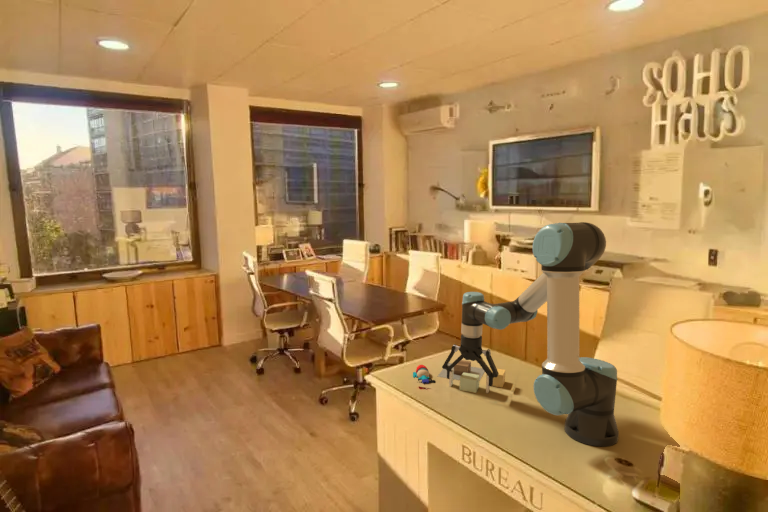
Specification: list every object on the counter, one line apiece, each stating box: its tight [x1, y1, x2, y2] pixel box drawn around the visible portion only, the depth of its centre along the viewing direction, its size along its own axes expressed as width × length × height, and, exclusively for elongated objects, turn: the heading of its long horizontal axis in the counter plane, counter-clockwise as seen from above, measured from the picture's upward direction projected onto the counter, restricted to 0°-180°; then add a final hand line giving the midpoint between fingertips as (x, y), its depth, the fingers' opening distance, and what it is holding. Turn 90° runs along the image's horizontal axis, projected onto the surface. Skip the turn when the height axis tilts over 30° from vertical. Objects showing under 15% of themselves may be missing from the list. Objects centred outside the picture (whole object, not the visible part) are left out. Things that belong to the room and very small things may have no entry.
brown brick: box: [454, 359, 472, 375], centre depth 191 cm, size 6×5×4 cm
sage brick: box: [459, 372, 480, 394], centre depth 176 cm, size 5×6×6 cm
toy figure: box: [412, 364, 436, 390], centre depth 185 cm, size 8×5×15 cm
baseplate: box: [437, 362, 486, 382], centre depth 191 cm, size 16×16×1 cm
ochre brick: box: [485, 367, 507, 388], centre depth 181 cm, size 6×6×6 cm
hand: (469, 390), depth 176 cm, fingers open, 13 cm apart
